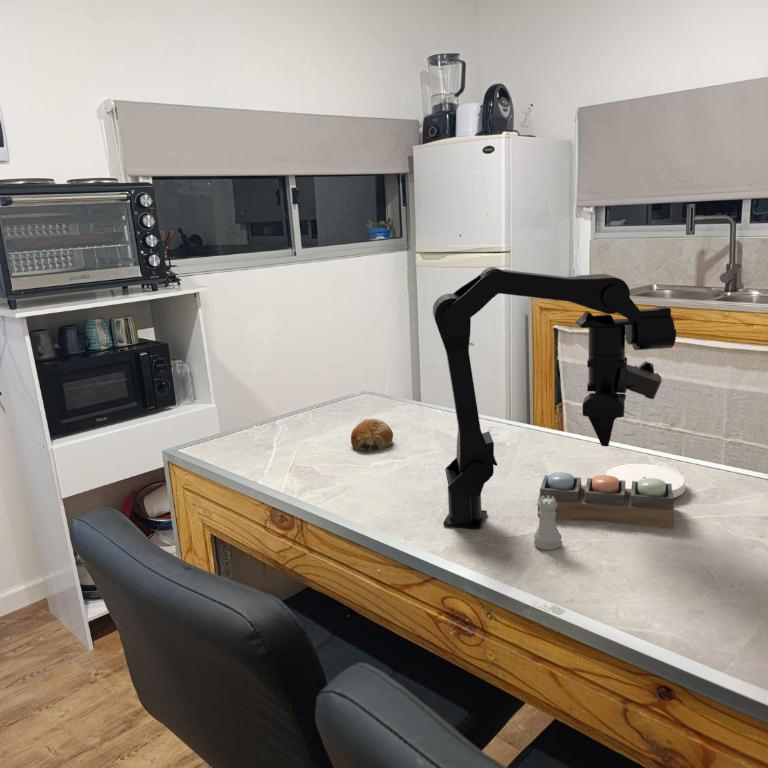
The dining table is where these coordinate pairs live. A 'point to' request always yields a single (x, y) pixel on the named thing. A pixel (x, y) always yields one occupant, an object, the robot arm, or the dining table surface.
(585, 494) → the button panel
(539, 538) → the rook chess piece
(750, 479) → the dining table surface
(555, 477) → the slate-blue button
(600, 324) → the robot arm
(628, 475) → the plastic lid
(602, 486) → the terracotta button
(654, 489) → the sage button
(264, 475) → the dining table surface
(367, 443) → the bread roll
